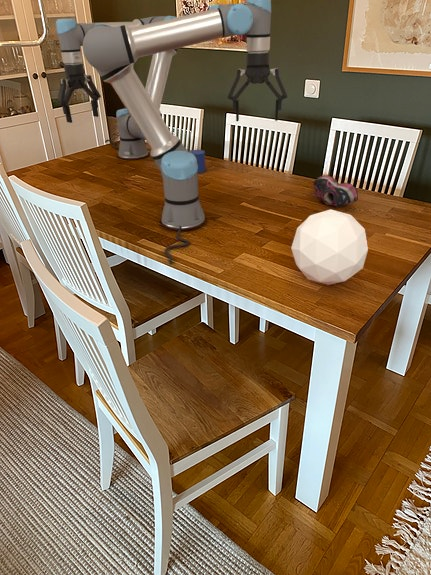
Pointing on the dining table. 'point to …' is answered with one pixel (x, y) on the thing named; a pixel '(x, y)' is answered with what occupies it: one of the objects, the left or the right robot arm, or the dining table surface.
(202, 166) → the canister
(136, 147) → the left robot arm
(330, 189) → the athletic shoe
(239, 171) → the dining table surface
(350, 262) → the sphere
